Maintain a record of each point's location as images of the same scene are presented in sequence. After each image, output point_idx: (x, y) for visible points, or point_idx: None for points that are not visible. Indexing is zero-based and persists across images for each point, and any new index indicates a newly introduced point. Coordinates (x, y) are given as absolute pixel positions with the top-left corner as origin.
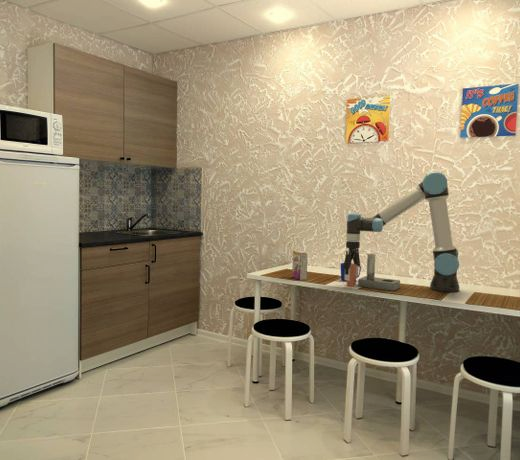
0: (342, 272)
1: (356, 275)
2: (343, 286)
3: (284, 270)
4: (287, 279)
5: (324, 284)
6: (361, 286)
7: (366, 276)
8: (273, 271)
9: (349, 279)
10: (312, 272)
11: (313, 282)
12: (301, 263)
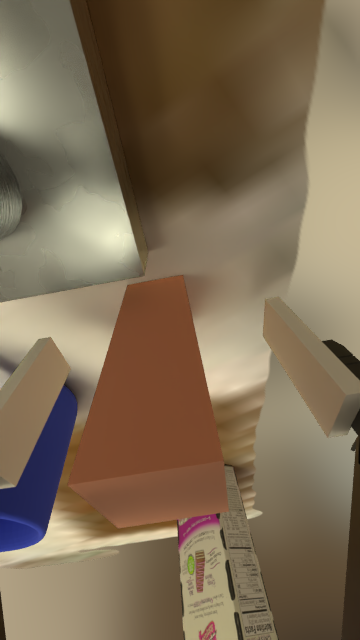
0: (66, 452)
1: (49, 356)
2: (237, 315)
3: (120, 531)
4: (247, 481)
5: (251, 395)
6: (139, 219)
7: None
8: (160, 530)
9: (274, 302)
10: (59, 508)
11: (238, 433)
12: (253, 563)
